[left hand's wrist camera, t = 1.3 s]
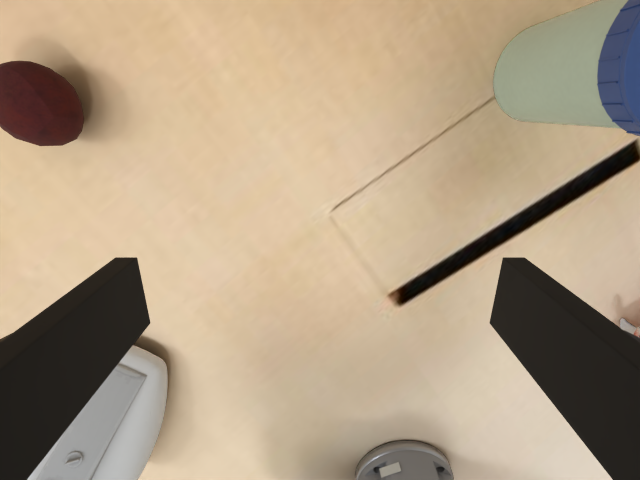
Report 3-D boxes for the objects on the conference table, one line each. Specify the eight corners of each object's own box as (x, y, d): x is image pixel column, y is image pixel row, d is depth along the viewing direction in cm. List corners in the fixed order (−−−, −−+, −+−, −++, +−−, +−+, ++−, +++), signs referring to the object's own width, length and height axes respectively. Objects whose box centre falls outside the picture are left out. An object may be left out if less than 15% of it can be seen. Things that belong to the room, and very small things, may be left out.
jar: (548, 135, 38) (711, 155, 22) (476, 100, 36) (593, 95, 21) (604, 47, 35) (837, -3, 19) (526, 5, 33) (708, -84, 18)
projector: (217, 441, 54) (182, 555, 40) (86, 472, 56) (11, 590, 42) (150, 325, 46) (79, 417, 32) (2, 366, 49) (-122, 468, 35)
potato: (58, 50, 35) (-4, 36, 28) (115, 118, 37) (70, 121, 30) (9, 94, 36) (-60, 91, 29) (67, 158, 38) (14, 168, 32)
